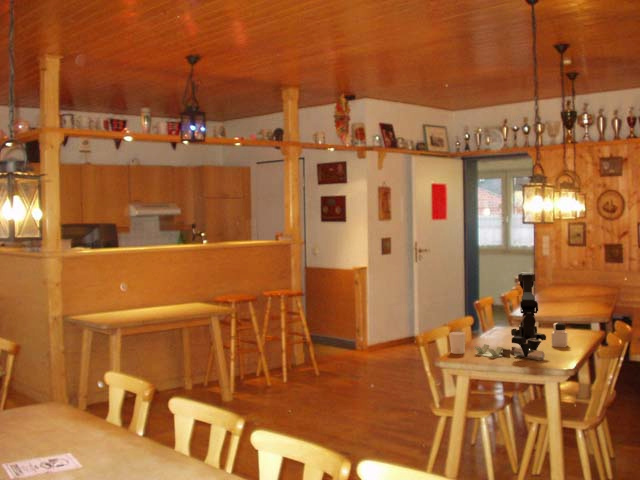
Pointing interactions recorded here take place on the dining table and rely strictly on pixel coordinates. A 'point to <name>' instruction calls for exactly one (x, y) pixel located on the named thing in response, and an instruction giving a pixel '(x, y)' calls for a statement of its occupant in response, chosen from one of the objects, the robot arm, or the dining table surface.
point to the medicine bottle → (559, 335)
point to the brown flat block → (507, 351)
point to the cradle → (492, 353)
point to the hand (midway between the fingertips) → (529, 356)
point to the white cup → (457, 342)
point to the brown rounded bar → (529, 354)
